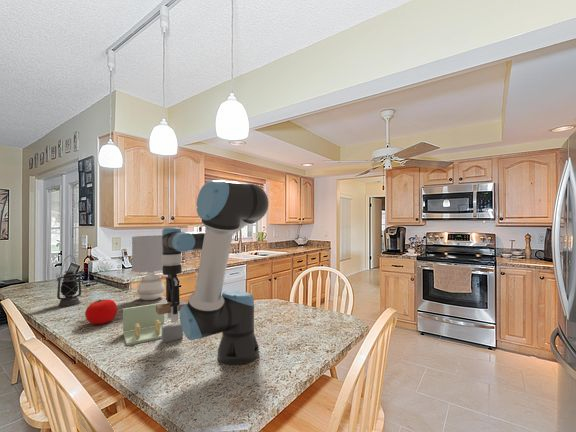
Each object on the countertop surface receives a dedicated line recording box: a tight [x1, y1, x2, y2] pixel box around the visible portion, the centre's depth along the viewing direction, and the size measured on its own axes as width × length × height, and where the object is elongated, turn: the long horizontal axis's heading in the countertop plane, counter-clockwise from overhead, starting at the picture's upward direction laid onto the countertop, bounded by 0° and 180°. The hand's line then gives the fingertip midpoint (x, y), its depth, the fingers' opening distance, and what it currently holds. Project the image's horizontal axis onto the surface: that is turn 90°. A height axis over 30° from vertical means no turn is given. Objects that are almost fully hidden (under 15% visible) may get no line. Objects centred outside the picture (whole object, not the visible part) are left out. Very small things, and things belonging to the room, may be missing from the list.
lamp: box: [131, 234, 166, 301], centre depth 189 cm, size 22×22×40 cm
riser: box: [161, 322, 184, 344], centre depth 123 cm, size 2×8×6 cm, turn 124°
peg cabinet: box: [122, 302, 166, 346], centre depth 129 cm, size 16×17×11 cm
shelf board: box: [156, 300, 188, 315], centre depth 123 cm, size 6×12×2 cm, turn 124°
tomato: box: [84, 299, 118, 325], centre depth 144 cm, size 12×14×12 cm
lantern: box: [56, 254, 82, 308], centre depth 178 cm, size 12×11×30 cm
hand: (172, 319), depth 123 cm, fingers closed on shelf board, 6 cm apart
